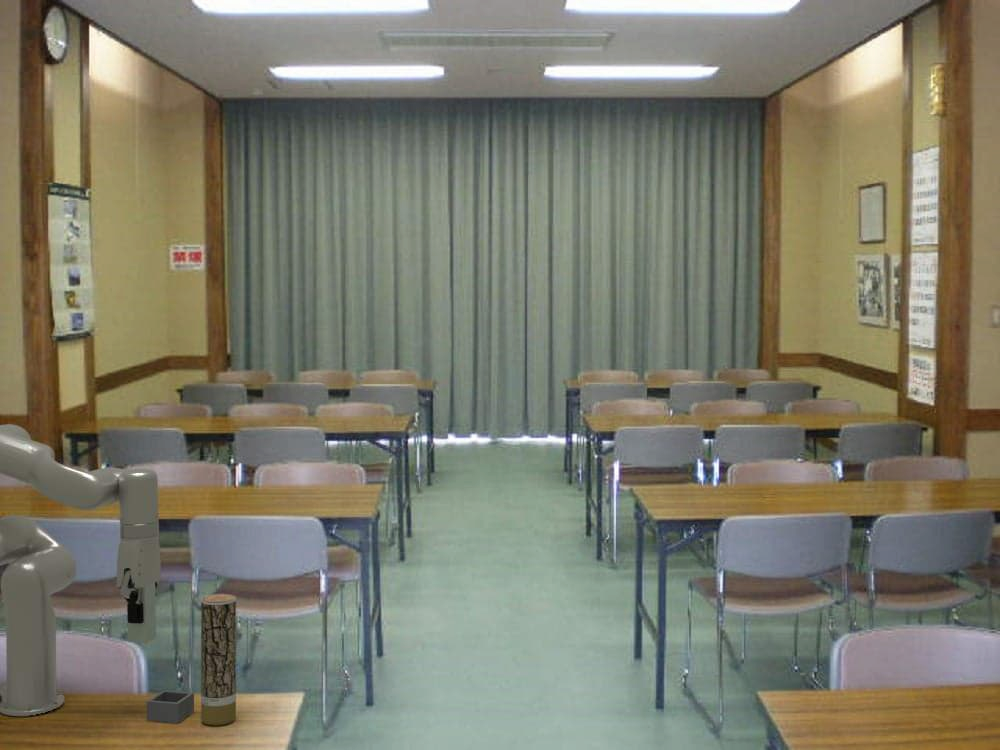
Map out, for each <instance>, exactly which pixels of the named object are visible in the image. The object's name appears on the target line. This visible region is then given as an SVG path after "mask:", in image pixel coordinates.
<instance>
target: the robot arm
mask: <svg viewBox="0 0 1000 750" xmlns="http://www.w3.org/2000/svg"><path fill="white" fill-rule="evenodd" d="M55 457H56V456H55V451H54V449H53V448H52V447H51V446H50V445H48V444H45V443H41V442H39V441H35V440H32V438H31V435H30V434H29V432H28V431H27V430H26V429H25V428H23V427H22V426H19V425H16V424H11V423H7V424H0V474H1V475H3V476H7V477H10V478H12V479H15V480H18V481H19V482H23V483H26V484H29V485H30V486H32V487H33V489H35V490H36V492H38V493H40V495H42V496H44V497H45V498H46V499H48V500H51V501H53V502H56V503H58V504H62V505H64V506H67V507H71V508H74V509H77V510H81V511H93V510H96V509H100V508H102V507H104V506H110V505H113V504H116V503H118V504H119V506H118V507H119V509H118V511H119V539H120V540H119V544H118V550H117V561H116V587H117V588H118V589H120V590H119V594H120V595H121V596H122V597H124V599H125V604H126V607H127V608H126V609H127V610H126V612H127V611H128V619H127V624H128V623H139V624H141V623H143V621H144V619H143V603H141V596H142V588H143V587H145V586H147V585H149V584H151V583H154V582H155V598H156V596H157V588H158V584H159V582H160V581H161V576H162V560H161V558H162V557H161V547H160V541H159V537H160V530H159V529H160V525H159V524H160V523H159V519H160V517H159V480H158V474H157V472H156V471H154V469H153V470H152V469H148V468H137V469H125V468H120V467H119V468H118V467H113V466H111V467H110V466H109V467H108V466H107V467H102V468H99V469H98V468H97V469H94V470H90V471H85V472H84V471H81V470H79V469H75V468H72V467H68V466H67V465H64V464H61V463H59V462H58V461H56V460H55ZM9 563H10V564H9ZM6 564H8V566H6V568H5V569H4V571H3V572H2V575H1V579H0V589H1V595H2V601H3V605H4V612H5V614H4V615H5V635H6V638H5V641H6V644H5V645H6V650H5V651H6V654H5V655H6V656H5V658H6V659H5V660H6V683H5V682H4V683H3V682H0V696H1V701H0V713H1V714H2V715H5V716H9V717H10V716H11V717H30V716H29V715H33V716H37V715H36V714H39V715H41V714H40V713H44V714H46V713H45V712H47V711H50V710H53V709H55V708H57V707H58V706H60V705H61V704H62V703H63V702H64V703H65V696H64V695H63V694H62V693H60V692H57V619H56V618H57V617H56V612H55V609H54V606H53V604H52V600H51V596H52V595H54V594H56V593H58V592H60V591H62V590H64V589H65V588H67V587H69V586H70V585H71V584H72V583H73V581H74V580H75V578H76V575H77V564H76V560H75V558H74V556H73V555H72V553H70V551H69V550H68V549H67V548H65V547H64V545H62V544H61V542H59V541H58V540H57V539H55V538H54V536H53V535H51V534H50V533H49V532H48V531H46V530H45V529H44V528H43V527H42V526H41V525H39V524H38V522H36V521H34V520H33V519H31V518H29V517H26V516H24V515H20V514H12V515H7V516H2V517H0V566H3V565H6ZM131 585H135V586H134V587H135V588H131ZM132 591H137V592H136V595H135V594H134V593H132Z"/></svg>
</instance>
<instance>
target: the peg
mask: <svg viewBox="0 0 1000 750" xmlns="http://www.w3.org/2000/svg"><path fill="white" fill-rule="evenodd" d="M134 586H135V585H131V588H135V587H134ZM136 592H137V591H132V593H134V594H135V595H136ZM141 603H143V619H144V621H143V623H141V624H139V623H128V622H127V643H135V644H136V643H137V644H138V643H139V644H147V643H149V642H151V641H153V640H155V639H156V638H157V626H156V625H157V620H156V619H157V618H156V597H155V582H154V583H151V584H149V585H147V586H145V587H143V588H142V596H141ZM126 612H127V620H128V611H127V610H126Z"/></svg>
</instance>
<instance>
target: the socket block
mask: <svg viewBox="0 0 1000 750" xmlns="http://www.w3.org/2000/svg"><path fill="white" fill-rule="evenodd" d="M193 711H194V712H195V693H194V692H189V691H175V690H164V689H163V690H162V691H160V692H159V693H157V694H156V695H154V696H152V697H151V698H149V699H148V700H146V721H147V720H149V721H148V722H154V721H159V722H158V723H164V722H167V724H175V725H176V724H177V725H178V724H180V723H181V722H183V721H184V720H185V719H186V718H185V717H187V716H188V715H189V714H191V713H192V712H193ZM194 712H193V713H194ZM193 713H192V714H193ZM192 714H191V715H192ZM189 716H190V715H189ZM189 716H188V717H189ZM188 717H187V718H188ZM183 719H184V720H183ZM179 722H180V723H179Z"/></svg>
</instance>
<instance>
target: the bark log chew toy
mask: <svg viewBox="0 0 1000 750" xmlns="http://www.w3.org/2000/svg"><path fill="white" fill-rule="evenodd" d="M200 605H201V606H200V607H201V609H200V614H201V615H200V618H201V619H200V620H201V621H200V625H201V626H200V627H201V628H200V629H201V630H200V633H201V635H200V643H201V644H200V648H201V649H200V650H201V651H200V655H201V658H200V663H201V664H200V689H201V690H200V692H201V693H200V703H201V705H200V706H201V708H200V709H201V711H200V713H201V714H200V718H201V721H202V723H203V724H205V725H207V726H214V727H215V726H218V727H219V726H223V725H228V724H231V723H233V722H234V721H235V720H236V716H237V597H236V596H235V595H234V594H229V593H215V594H208V595H205V596H202V597H201V602H200Z"/></svg>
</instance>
